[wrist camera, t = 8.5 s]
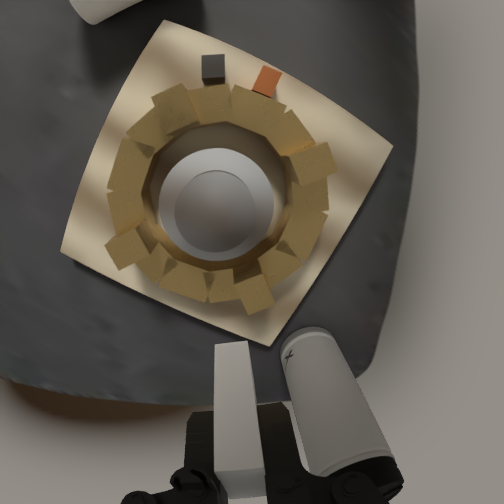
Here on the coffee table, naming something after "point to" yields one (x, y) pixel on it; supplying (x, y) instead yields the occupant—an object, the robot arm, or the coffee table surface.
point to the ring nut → (263, 254)
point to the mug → (100, 8)
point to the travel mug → (335, 412)
